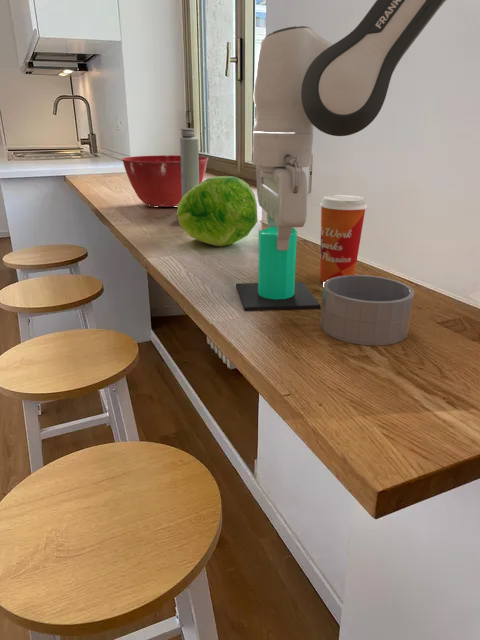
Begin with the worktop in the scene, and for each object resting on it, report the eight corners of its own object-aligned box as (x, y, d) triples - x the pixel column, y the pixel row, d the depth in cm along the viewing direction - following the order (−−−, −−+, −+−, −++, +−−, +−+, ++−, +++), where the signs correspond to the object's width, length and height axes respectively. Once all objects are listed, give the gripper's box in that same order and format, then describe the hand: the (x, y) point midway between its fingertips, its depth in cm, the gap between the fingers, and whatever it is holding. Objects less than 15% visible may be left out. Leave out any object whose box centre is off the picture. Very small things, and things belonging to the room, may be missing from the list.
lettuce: (229, 230, 129) (185, 182, 123) (282, 201, 114) (234, 145, 108) (200, 275, 120) (149, 226, 114) (253, 250, 105) (198, 191, 99)
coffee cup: (304, 279, 91) (310, 197, 86) (332, 271, 96) (339, 193, 91) (341, 290, 86) (350, 202, 80) (368, 281, 91) (378, 198, 85)
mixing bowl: (124, 213, 152) (120, 160, 147) (125, 199, 178) (121, 154, 172) (214, 211, 158) (214, 160, 152) (202, 198, 184) (202, 154, 178)
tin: (387, 311, 77) (392, 273, 75) (423, 343, 66) (430, 301, 63) (310, 313, 75) (313, 275, 73) (334, 347, 64) (338, 304, 62)
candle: (282, 285, 86) (285, 216, 81) (301, 296, 80) (304, 222, 76) (251, 290, 83) (252, 219, 79) (268, 301, 78) (270, 225, 74)
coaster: (302, 285, 88) (302, 281, 88) (320, 308, 77) (320, 305, 77) (235, 286, 87) (235, 283, 87) (244, 310, 76) (244, 307, 76)
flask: (181, 215, 150) (179, 127, 141) (197, 215, 151) (195, 127, 141) (183, 227, 134) (180, 128, 125) (200, 227, 135) (198, 128, 125)
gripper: (321, 158, 64) (314, 261, 70) (288, 149, 83) (284, 231, 88) (274, 158, 64) (270, 262, 69) (251, 149, 82) (249, 231, 88)
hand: (277, 244), depth 79 cm, fingers closed on candle, 5 cm apart
